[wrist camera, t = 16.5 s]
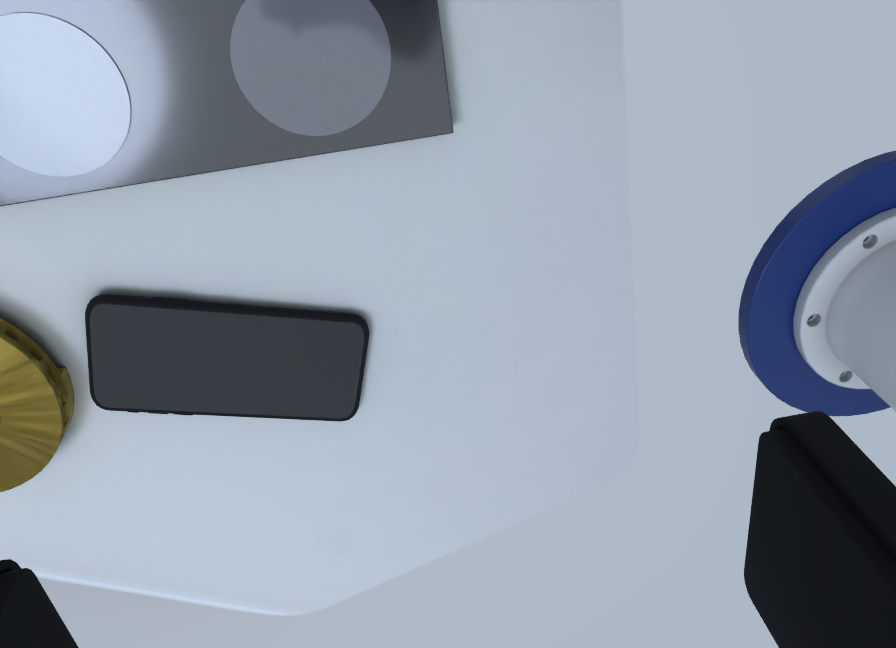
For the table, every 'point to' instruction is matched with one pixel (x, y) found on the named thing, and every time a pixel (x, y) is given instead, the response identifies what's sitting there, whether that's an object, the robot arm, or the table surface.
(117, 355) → the smartphone
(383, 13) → the hob
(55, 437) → the gold round disc
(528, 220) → the table surface
